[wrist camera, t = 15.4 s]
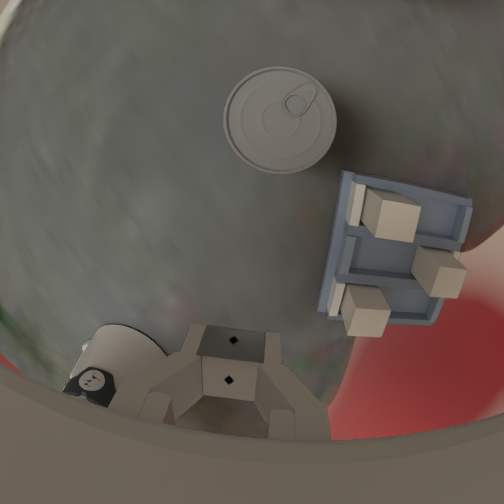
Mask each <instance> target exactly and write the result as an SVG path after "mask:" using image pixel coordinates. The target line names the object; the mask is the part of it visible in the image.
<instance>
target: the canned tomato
mask: <svg viewBox="0 0 504 504" xmlns="http://www.w3.org/2000/svg"><path fill="white" fill-rule="evenodd" d="M223 122H224V130H225V134H226V137H227V140H228V142H229V144H230V146H231V148H232V149H233V150H234V152H235V153H236V154H237V156H239V157H240V158H241V159H242V160H243V161H244V162H245V163H247V164H248V165H250V166H251V167H253V168H255V169H257V170H260V171H262V172H265V173H271V174H285V175H286V174H292V173H297V172H300V171H303V170H305V169H308V168H309V167H311V166H312V165H314V164H316V163H317V162H318V161H319V160H320V159H321V158H322V157H323V156H324V155H325V154H326V152H327V151H328V150H329V148H330V147H331V144H332V142H333V140H334V137H335V133H336V128H337V115H336V110H335V105H334V103H333V101H332V98H331V96H330V94H329V93H328V92H327V90H326V89H325V87H324V86H323V85H322V84H321V83H320V82H319V81H318V80H317V79H315V78H314V77H312V76H311V75H309V74H308V73H306V72H303V71H301V70H298V69H296V68H291V67H285V66H272V67H267V68H262V69H260V70H257V71H255V72H252V73H251V74H249V75H248V76H246V77H245V78H243V79H242V80H241V81H240V82H239V83H238V84H237V85H236V86H235V87H234V89H233V90H232V92H231V93H230V95H229V97H228V99H227V102H226V104H225V109H224V115H223Z"/></svg>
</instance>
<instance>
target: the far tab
mask: <svg viewBox="0 0 504 504" xmlns="http://www.w3.org/2000/svg"><path fill="white" fill-rule="evenodd" d="M340 310H341V314H342V318H343V321H344V325H345V329H346V333H347V336H364V337H382V334H383V332H384V329H385V327H386V324H387V321H388V318H389V316H390V313H391V309H390V307H389V305H388V303H387V301H386V300H385V298H384V296H383V294H382V292H381V290H380V288H379V286H374V285H364V284H354V283H345V288H344V292H343V296H342V300H341V303H340Z"/></svg>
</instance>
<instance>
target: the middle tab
mask: <svg viewBox="0 0 504 504" xmlns="http://www.w3.org/2000/svg"><path fill="white" fill-rule="evenodd" d="M467 271H468V270H467V269H466V268H465V267H464V266H463V265H462V264H461V263H460V262H459V261H458V260H457V259H456V258H454V257H453V256H452V255H451V254H450V253H449V252H448V251H447V250H446V249H441V248H434V247H428V246H421V245H418V247H417V250H416V254H415V257H414V261H413V264H412V267H411V273H412V274H413V275H414V277H415V278H416V279H417V281H418V282H419V283H420V284H421V286H422V287H423V288H424V290H425V291H426V292H427V294H428V295H429V297H441V298H455V299H456V298H458V296H459V293H460V290H461V288H462V285H463V282H464V280H465V277H466V274H467Z"/></svg>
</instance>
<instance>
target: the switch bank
mask: <svg viewBox="0 0 504 504" xmlns="http://www.w3.org/2000/svg"><path fill="white" fill-rule="evenodd" d="M366 187H371V188H376V189H382V190H387V191H393V192H398V193H400V194H402V195H403V196H405V197H406V198H408V199H410V200H411V201H413V202H414V203H416V204H418V205H419V206H421V210H420V215H419V219H418V223H417V228H416V232H415V236H414V240H413V243H411V242H404V241H397V240H390V239H383V238H376V237H374V236H373V234H372V233H371V232H370V231H369V229H368V228H367V227H366V226H365V224H364V223H363V222H362V221H361V220H360V216H361V210H362V205H363V199H364V194H365V188H366ZM472 203H473V200H472V199H471V198H469V197H467V196H464V195H460V194H456V193H453V192H449V191H445V190H441V189H437V188H432V187H428V186H424V185H420V184H415V183H411V182H406V181H401V180H397V179H392V178H387V177H382V176H376V175H371V174H365V173H360V172H354V171H348V170H342V171H341V178H340V185H339V191H338V198H337V204H336V210H335V216H334V222H333V228H332V233H331V239H330V244H329V249H328V255H327V260H326V265H325V270H324V275H323V279H322V284H321V289H320V293H319V298H318V302H317V311H319V312H325V313H326V318H327V320H338V321H343V318H342V314H341V310H340V303H341V300H342V296H343V292H344V288H345V283H354V284H364V285H374V286H379V288H380V290H381V292H382V294H383V296H384V298H385V300H386V301H387V303H388V305H389V307H390V309H391V313H390V316H389V318H388V321H387V324H403V325H432V324H433V322H436V319H437V317H438V314H439V312H440V310H441V307H442V305H443V303H444V300H445V298H441V297H429V295H428V294H427V292H426V291H425V290H424V288H423V287H422V286H421V284H420V283H419V282H418V281H417V279H416V278H415V277H414V275H413V274H412V273H411V267H412V264H413V261H414V257H415V254H416V250H417V247H418V245H421V246H428V247H434V248H441V249H446V250H447V251H448V252H449V253H450V254H451V255H452V256H453V257H454V258H456V259H457V260H458V261H459V258H460V255H461V252H460V248H461V245H462V243H464V242H465V238H466V234H467V231H468V227H469V223H470V219H471V215H472V211H473V208H471V207H472Z"/></svg>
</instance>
